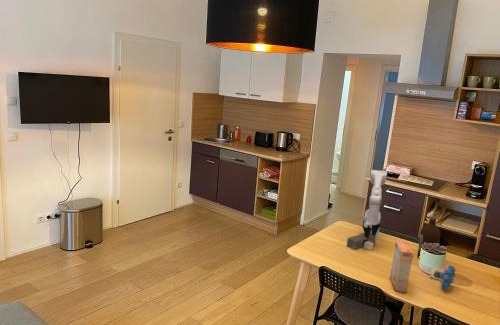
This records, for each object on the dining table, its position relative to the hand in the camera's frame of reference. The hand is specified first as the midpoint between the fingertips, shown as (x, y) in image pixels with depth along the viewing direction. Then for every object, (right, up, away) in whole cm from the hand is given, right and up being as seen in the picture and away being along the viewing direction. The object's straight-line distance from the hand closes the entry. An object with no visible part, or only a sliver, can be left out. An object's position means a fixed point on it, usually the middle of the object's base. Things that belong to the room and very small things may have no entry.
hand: (370, 236), depth 228 cm
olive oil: (+31, -12, -6) cm, 33 cm away
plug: (-4, -6, +6) cm, 10 cm away
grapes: (+25, -18, -39) cm, 49 cm away
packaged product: (+30, -16, -24) cm, 42 cm away
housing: (-4, -6, +6) cm, 10 cm away
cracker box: (+1, -17, -39) cm, 43 cm away
